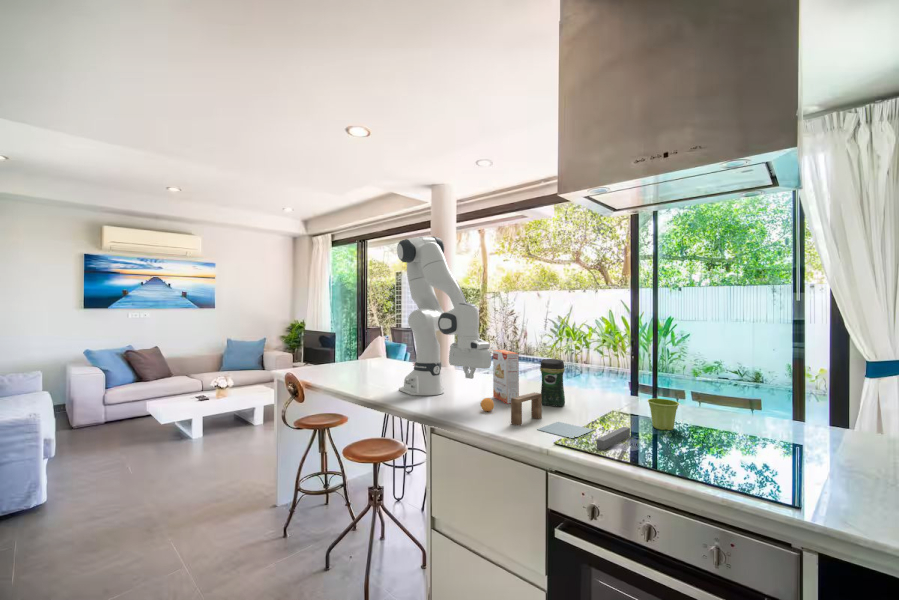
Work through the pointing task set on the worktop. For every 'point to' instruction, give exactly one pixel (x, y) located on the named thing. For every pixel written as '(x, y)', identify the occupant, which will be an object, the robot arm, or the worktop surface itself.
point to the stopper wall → (613, 438)
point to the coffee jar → (552, 382)
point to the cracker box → (505, 375)
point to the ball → (487, 404)
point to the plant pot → (663, 413)
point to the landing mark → (565, 430)
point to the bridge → (517, 407)
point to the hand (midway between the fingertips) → (469, 378)
